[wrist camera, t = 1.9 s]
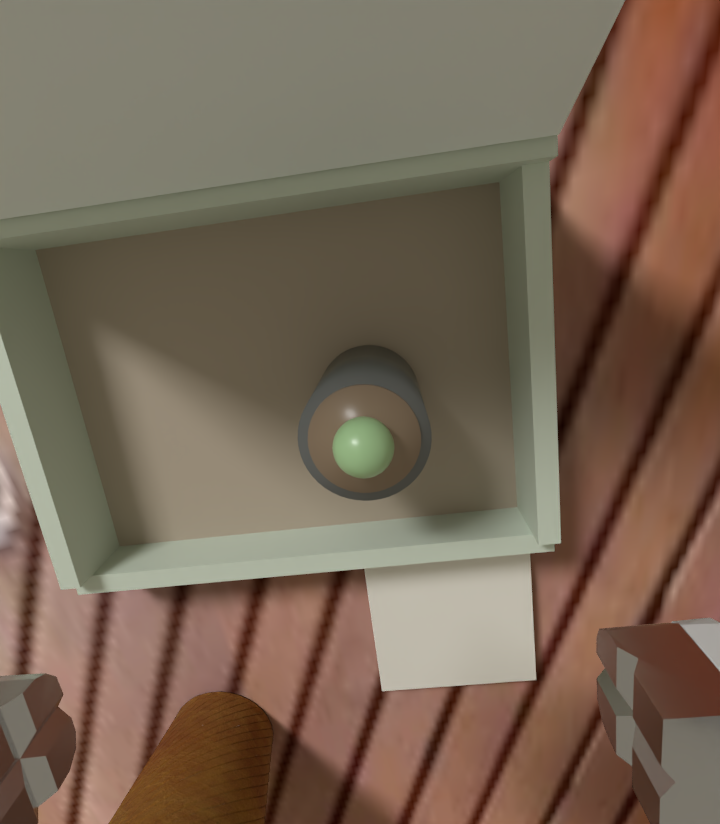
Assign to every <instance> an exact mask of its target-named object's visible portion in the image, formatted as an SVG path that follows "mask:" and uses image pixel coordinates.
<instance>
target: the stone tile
mask: <svg viewBox="0 0 720 824" xmlns="http://www.w3.org/2000/svg"><path fill="white" fill-rule="evenodd" d="M364 571H365V578H366V584H367V591H368V598H369V605H370V612H371V619H372V625H373V632H374V639H375V646H376V653H377V660H378V667H379V673H380V680H381V687H382V691H392V690H405V689H419V688H433V687H446V686H460V685H474V684H488V683H501V682H515V681H529V680H536V663H535V643H534V623H533V603H532V582H531V562H530V553H529V554H518V555H508V556H497V557H486V558H475V559H464V560H453V561H442V562H431V563H420V564H409V565H398V566H387V567H376V568H365V569H364Z"/></svg>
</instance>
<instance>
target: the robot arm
mask: <svg viewBox="0 0 720 824" xmlns="http://www.w3.org/2000/svg"><path fill="white" fill-rule="evenodd" d="M596 653H597V655H598V656H599V658H600V660H601V662H602V664H603V665H604V667H605V669H604V670H603V671H602V673H601V674H600V675H599V676H598V678H597V699H598V704H599V708H600V713H601V718H602V722H603V724H604V727H605V730H606V733H607V735H608V738H609V740H610V742H611V744H612V746H613V748H614V751H615V753H616V755H618V756H619V757H620V758H622V759H623V760H624V761H626V762H627V763H628V764H630V765H631V766H632V788H633V790H634V792H635V794H636V796H637V798H638V800H639V802H640V804H641V806H642V808H643V810H644V812H645V814H646V816H647V818H648V820H649V822H650V824H720V623H719V622H718V621H716V620H714V619H712V618H701V619H691V620H682V621H673V622H672V623H660V624H648V625H637V626H626V627H614V628H603V629H599V631H598V635H597V649H596ZM62 696H63V692H62V690H61V687H60V685H59V682H58V680H57V677H56V676H52V675H49V674H27V675H9V676H0V824H38V807H39V806H40V805H41V804H42V803H43V802H45V801H46V800H47V799H48V798H50V797H51V796H52V795H53V794H54V793H56V792H57V791H58V790H59V788H60V786H61V785H62V783H63V781H64V779H65V778H66V776H67V774H68V773H69V771H70V768H71V764H72V761H73V757H74V754H75V750H76V731H75V728H74V725H73V721H72V718H71V717H70V716H68V715H67V714H66V713H65V712H64V711H62V710H61V709H60V708H59V707H58V705H59V703H60V701H61V698H62Z"/></svg>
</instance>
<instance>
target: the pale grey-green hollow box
mask: <svg viewBox="0 0 720 824" xmlns="http://www.w3.org/2000/svg"><path fill="white" fill-rule="evenodd" d="M624 1H625V0H0V404H1V407H2V411H3V414H4V417H5V420H6V423H7V426H8V429H9V432H10V435H11V438H12V441H13V444H14V447H15V450H16V453H17V457H18V460H19V463H20V466H21V469H22V472H23V475H24V478H25V481H26V484H27V487H28V490H29V493H30V496H31V499H32V502H33V506H34V509H35V512H36V515H37V518H38V521H39V524H40V527H41V530H42V533H43V536H44V539H45V542H46V545H47V548H48V551H49V555H50V558H51V561H52V564H53V567H54V570H55V573H56V576H57V579H58V582H59V585H60V588H61V590H62V589H73V588H76V589H77V593H78V595H81V594H92V593H103V592H114V591H125V590H136V589H147V588H158V587H169V586H180V585H191V584H201V583H212V582H223V581H234V580H245V579H256V578H267V577H278V576H289V575H300V574H311V573H322V572H333V571H344V570H354V569H365V568H376V567H387V566H398V565H409V564H420V563H431V562H442V561H453V560H464V559H475V558H486V557H497V556H508V555H518V554H529V553H540V552H551V551H555V546H554V544H560V543H561V525H560V493H559V461H558V428H557V396H556V364H555V332H554V300H553V268H552V236H551V204H550V172H549V161H551V160H552V159H554V158H555V157H557V156H558V139H557V135H559V134H560V132H561V130H562V128H563V126H564V123H565V121H566V119H567V117H568V115H569V113H570V111H571V109H572V107H573V105H574V103H575V101H576V99H577V97H578V95H579V93H580V91H581V89H582V87H583V85H584V83H585V81H586V79H587V77H588V75H589V73H590V71H591V69H592V66H593V64H594V62H595V60H596V58H597V56H598V54H599V52H600V50H601V48H602V46H603V44H604V42H605V40H606V38H607V36H608V34H609V32H610V30H611V28H612V26H613V24H614V22H615V20H616V18H617V16H618V14H619V12H620V9H621V7H622V5H623V3H624ZM363 345H375V346H381V347H384V348H387V349H390V350H392V351H394V352H396V353H397V354H399V355H400V356H401V357H402V358H403V359H405V360H406V362H407V363H408V364H409V365H410V367H411V368H412V370H413V371H414V374H415V376H416V378H417V382H418V385H419V388H420V392H421V395H422V398H423V402H424V405H425V408H426V412H427V415H428V418H429V422H430V426H431V432H432V443H431V450H430V454H429V457H428V460H427V462H426V465H425V466H424V468H423V470H422V472H421V473H420V474H419V476H418V477H417V478H416V479H415V480H414V481H413V482H412V483H411V484H410V485H409V486H407V487H406V488H405V489H403V490H402V491H400V492H398V493H397V494H394V495H392V496H390V497H386V498H383V499H378V500H371V501H361V500H353V499H348V498H345V497H341V496H339V495H337V494H334V493H332V492H331V491H329V490H327V489H326V488H324V487H323V486H322V485H321V484H319V483H318V482H317V481H316V480H315V479H314V478H313V477H312V475H311V474H310V473H309V471H308V470H307V468H306V466H305V464H304V463H303V460H302V458H301V455H300V451H299V447H298V426H299V421H300V418H301V415H302V412H303V410H304V408H305V406H306V404H307V403H308V401H309V399H310V397H311V395H312V394H313V392H314V390H315V388H316V387H317V385H318V383H319V381H320V379H321V378H322V376H323V374H324V372H325V371H326V369H327V367H328V366H329V364H330V363H331V362H332V361H333V360H334V359H335V358H336V357H337V356H338V355H340V354H341V353H343V352H344V351H347V350H349V349H351V348H354V347H357V346H363Z"/></svg>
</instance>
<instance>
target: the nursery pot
mask: <svg viewBox="0 0 720 824" xmlns="http://www.w3.org/2000/svg"><path fill="white" fill-rule="evenodd" d="M431 443H432V432H431V426H430V422H429V418H428V415H427V412H426V408H425V405H424V402H423V398H422V395H421V392H420V388H419V385H418V382H417V378H416V376H415V374H414V371H413V370H412V368H411V367H410V365H409V364H408V363H407V362H406V360H405V359H403V358H402V357H401V356H400V355H399V354H397V353H396V352H394V351H392V350H390V349H387V348H384V347H381V346H375V345H363V346H357V347H354V348H351V349H349V350H347V351H344V352H343V353H341V354H340V355H338V356H337V357H336V358H335V359H334V360H333V361H332V362H331V363H330V364H329V366H328V367H327V369H326V371H325V372H324V374H323V376H322V378H321V379H320V381H319V383H318V385H317V387H316V388H315V390H314V392H313V394H312V395H311V397H310V399H309V401H308V403H307V404H306V406H305V408H304V410H303V412H302V415H301V418H300V421H299V426H298V447H299V451H300V455H301V458H302V460H303V463H304V464H305V466H306V468H307V470H308V471H309V473H310V474H311V475H312V477H313V478H314V479H315V480H316V481H317V482H318V483H319V484H321V485H322V486H323V487H324V488H326V489H327V490H329V491H331V492H332V493H334V494H337V495H339V496H341V497H345V498H348V499H353V500H361V501H371V500H378V499H383V498H386V497H390V496H392V495H394V494H397V493H398V492H400V491H402V490H403V489H405V488H406V487H407V486H409V485H410V484H411V483H412V482H413V481H414V480H415V479H416V478H417V477H418V476H419V474H420V473H421V472H422V470H423V468H424V466H425V465H426V462H427V460H428V457H429V454H430V450H431Z"/></svg>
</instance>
